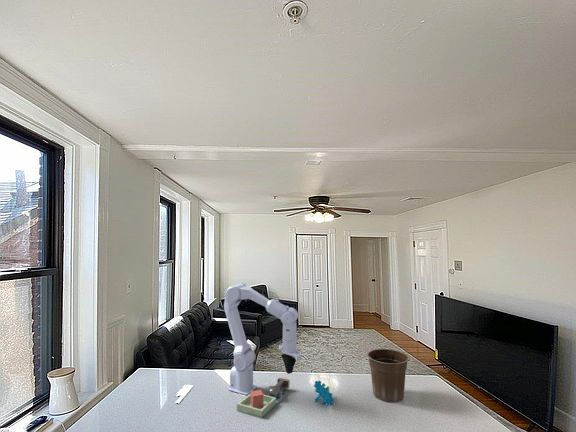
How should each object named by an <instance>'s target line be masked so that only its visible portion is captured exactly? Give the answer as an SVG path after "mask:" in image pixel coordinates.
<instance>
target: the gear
mask: <svg viewBox="0 0 576 432" xmlns="http://www.w3.org/2000/svg"><path fill="white" fill-rule="evenodd" d="M314 383H315V384H313V387H314V388H315V389H314V392H315V393H318V394H317V395H316V397H315V398H314V402H317V401H318V400H319V399H321V398H322V400H321V401H322V403H323V404H325V403H326V405H327V406H332V405H333V404H334V401H335V399H334V398H333V394H332V393H331V392H330V387H329V385H327V386H326V384H325V382H323V383H322V381H321V380H316V381H315V382H314Z"/></svg>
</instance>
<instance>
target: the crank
mask: <svg viewBox="0 0 576 432" xmlns="http://www.w3.org/2000/svg"><path fill="white" fill-rule="evenodd" d="M276 382H277V383H276V384H275V385H273V386H272V385H271V386H269V387H268V394H269V396H271V397H275V398H276V399H279V398H280V392H281V391H283V390H284V389H289V388H290V382H291V381H290V379H288V378H283V377H278V378H277V379H276Z"/></svg>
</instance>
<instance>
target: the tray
mask: <svg viewBox="0 0 576 432" xmlns="http://www.w3.org/2000/svg"><path fill="white" fill-rule="evenodd" d="M267 395H268V394H267ZM267 395H266V394H263V408H261V409H257V408H254V407H251V392H250V393H249V394H248V395H246V396H245V397H244V398H242V400H240V401H239V402H238V403H236V411H237V412H240V413H243V414H246V415H250V416H253V417H256V418H260V419H262V418H264V417H265V416H266V415H267V414H268V413H269V412H270V411H271V410H272V409H273V408H275V406H277V404H276V398H275V397H271V396H267Z"/></svg>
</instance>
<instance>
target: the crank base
mask: <svg viewBox="0 0 576 432" xmlns="http://www.w3.org/2000/svg"><path fill="white" fill-rule="evenodd" d="M283 392H284V391H283V390H282V391H281V392H280V398H279V399H276V405H278V404H279V403H280V402H281V401H282V400H284V398H286V395H284V394H282V393H283ZM267 396H269V393H268V394H267Z"/></svg>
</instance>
